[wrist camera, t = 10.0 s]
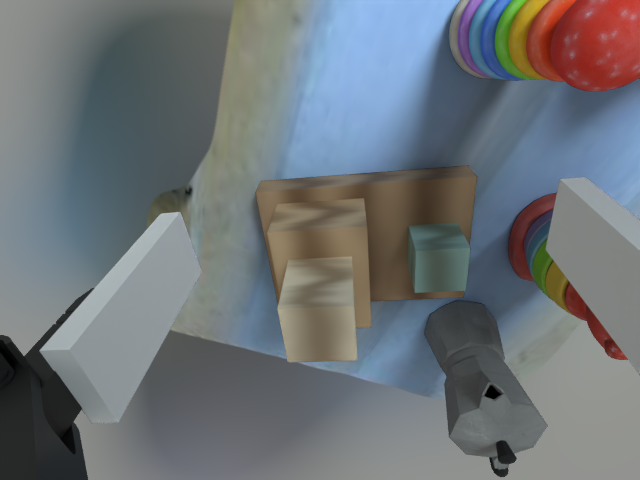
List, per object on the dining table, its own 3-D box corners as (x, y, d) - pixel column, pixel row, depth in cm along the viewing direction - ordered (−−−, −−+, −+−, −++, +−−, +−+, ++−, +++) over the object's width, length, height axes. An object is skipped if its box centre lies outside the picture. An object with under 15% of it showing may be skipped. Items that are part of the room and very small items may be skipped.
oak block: (351, 256, 36) (353, 306, 30) (355, 306, 39) (357, 360, 33) (288, 259, 37) (277, 309, 31) (296, 308, 40) (287, 362, 34)
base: (468, 165, 40) (498, 202, 33) (457, 281, 48) (479, 334, 40) (260, 181, 43) (242, 219, 35) (281, 290, 50) (270, 341, 42)
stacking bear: (518, 281, 48) (600, 410, 32) (490, 216, 43) (570, 330, 28) (614, 244, 44) (756, 368, 29) (594, 170, 40) (749, 271, 25)
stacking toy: (487, 95, 37) (598, 163, 21) (428, 35, 35) (501, 59, 18) (561, 20, 33) (763, 32, 17) (501, -52, 31) (669, -115, 15)
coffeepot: (415, 294, 49) (448, 425, 34) (493, 280, 48) (564, 411, 32) (432, 375, 57) (465, 513, 41) (499, 365, 55) (560, 505, 40)
